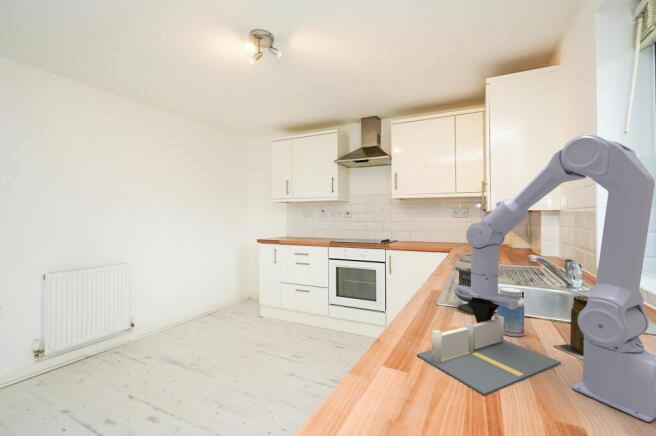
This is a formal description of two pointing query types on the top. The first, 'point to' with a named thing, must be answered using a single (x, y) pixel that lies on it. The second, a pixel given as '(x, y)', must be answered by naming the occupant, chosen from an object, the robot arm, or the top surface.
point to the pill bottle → (512, 313)
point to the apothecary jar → (464, 280)
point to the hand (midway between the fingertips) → (483, 330)
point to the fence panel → (488, 332)
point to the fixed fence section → (452, 342)
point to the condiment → (575, 330)
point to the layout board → (493, 366)
